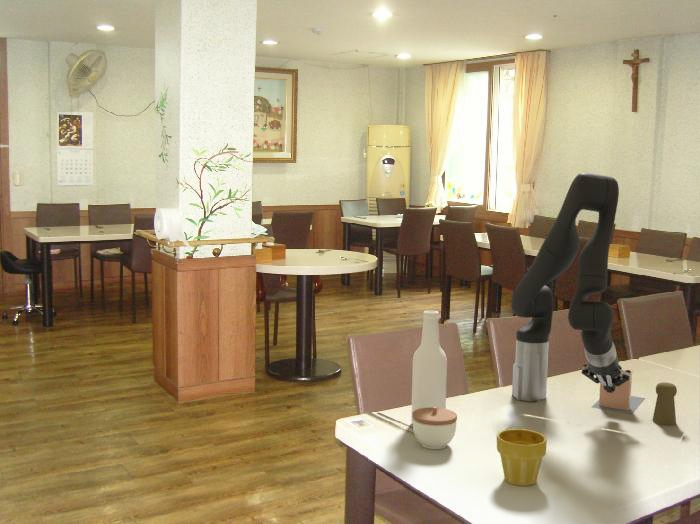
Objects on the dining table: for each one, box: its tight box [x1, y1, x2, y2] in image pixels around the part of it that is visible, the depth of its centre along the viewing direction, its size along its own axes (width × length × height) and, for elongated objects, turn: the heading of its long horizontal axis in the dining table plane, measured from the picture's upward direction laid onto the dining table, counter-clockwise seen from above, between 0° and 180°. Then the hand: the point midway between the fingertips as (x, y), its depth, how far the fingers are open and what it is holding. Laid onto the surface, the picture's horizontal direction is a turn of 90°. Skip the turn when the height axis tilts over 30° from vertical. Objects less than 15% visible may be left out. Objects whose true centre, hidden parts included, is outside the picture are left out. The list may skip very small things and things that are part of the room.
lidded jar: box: [411, 407, 458, 450], centre depth 188 cm, size 11×11×9 cm
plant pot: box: [496, 428, 548, 487], centre depth 167 cm, size 10×10×10 cm
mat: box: [591, 395, 646, 415], centre depth 224 cm, size 18×11×1 cm, turn 148°
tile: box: [598, 368, 633, 410], centre depth 219 cm, size 2×8×11 cm, turn 58°
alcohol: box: [410, 309, 448, 424], centre depth 202 cm, size 9×9×30 cm
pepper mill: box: [652, 381, 678, 427], centre depth 206 cm, size 6×6×11 cm
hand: (610, 389), depth 212 cm, fingers closed
